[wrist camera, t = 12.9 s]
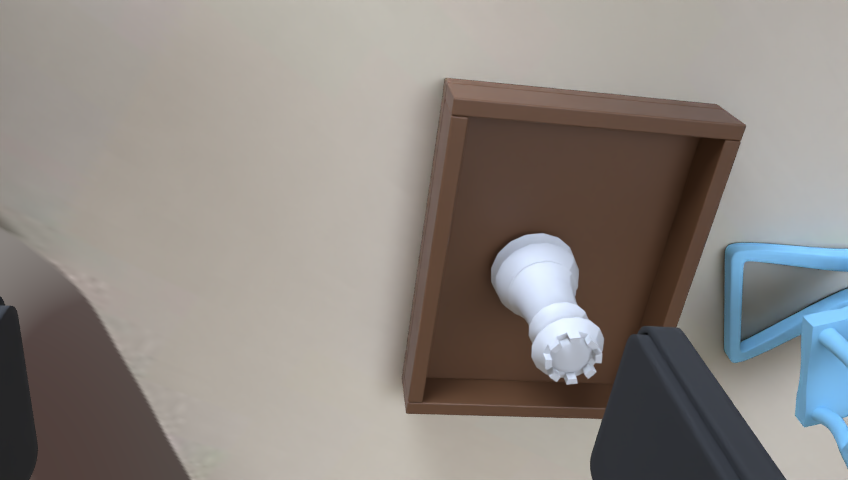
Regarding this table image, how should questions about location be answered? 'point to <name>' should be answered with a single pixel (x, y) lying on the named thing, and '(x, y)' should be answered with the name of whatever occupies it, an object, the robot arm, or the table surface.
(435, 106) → the table surface
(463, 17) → the table surface
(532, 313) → the rook chess piece
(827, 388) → the chair
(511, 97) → the tray
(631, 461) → the robot arm
